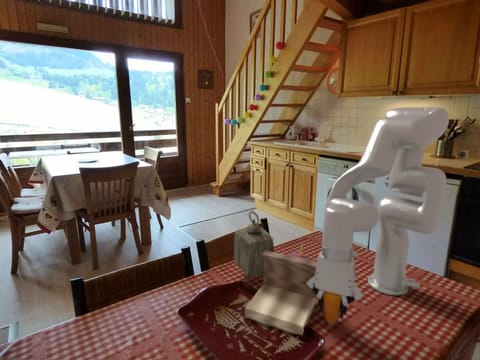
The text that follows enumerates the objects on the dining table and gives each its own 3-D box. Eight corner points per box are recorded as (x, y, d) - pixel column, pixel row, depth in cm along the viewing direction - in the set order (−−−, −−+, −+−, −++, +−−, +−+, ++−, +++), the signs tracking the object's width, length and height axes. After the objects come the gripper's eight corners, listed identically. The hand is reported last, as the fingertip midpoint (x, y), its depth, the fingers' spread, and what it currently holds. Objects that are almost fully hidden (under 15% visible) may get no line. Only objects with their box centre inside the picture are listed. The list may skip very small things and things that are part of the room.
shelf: (315, 304, 93) (318, 261, 90) (302, 336, 80) (305, 286, 77) (264, 289, 101) (265, 249, 98) (245, 317, 87) (245, 271, 84)
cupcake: (311, 269, 114) (312, 240, 112) (303, 279, 107) (304, 248, 105) (290, 263, 119) (291, 235, 116) (281, 272, 112) (282, 242, 109)
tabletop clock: (273, 285, 104) (275, 216, 98) (249, 291, 100) (250, 220, 94) (253, 266, 116) (255, 204, 111) (232, 271, 113) (232, 207, 107)
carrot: (340, 333, 81) (345, 283, 78) (321, 330, 82) (325, 281, 79) (338, 321, 86) (342, 273, 82) (320, 318, 87) (324, 271, 83)
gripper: (372, 252, 78) (365, 313, 82) (307, 240, 86) (304, 297, 90) (370, 265, 72) (363, 330, 76) (300, 250, 79) (297, 311, 83)
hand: (331, 312), depth 83 cm, fingers open, 4 cm apart
